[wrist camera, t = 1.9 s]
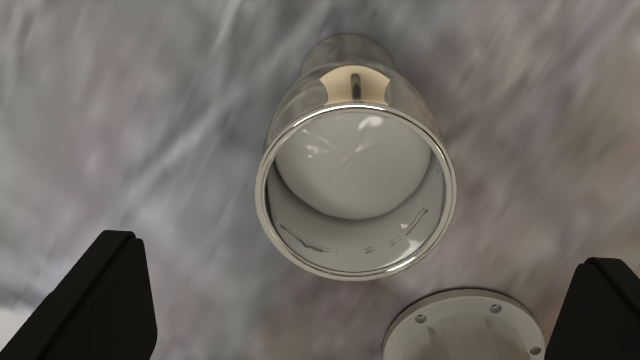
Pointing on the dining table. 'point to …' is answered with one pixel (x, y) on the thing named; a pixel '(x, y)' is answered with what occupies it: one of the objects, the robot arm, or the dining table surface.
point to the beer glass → (354, 167)
